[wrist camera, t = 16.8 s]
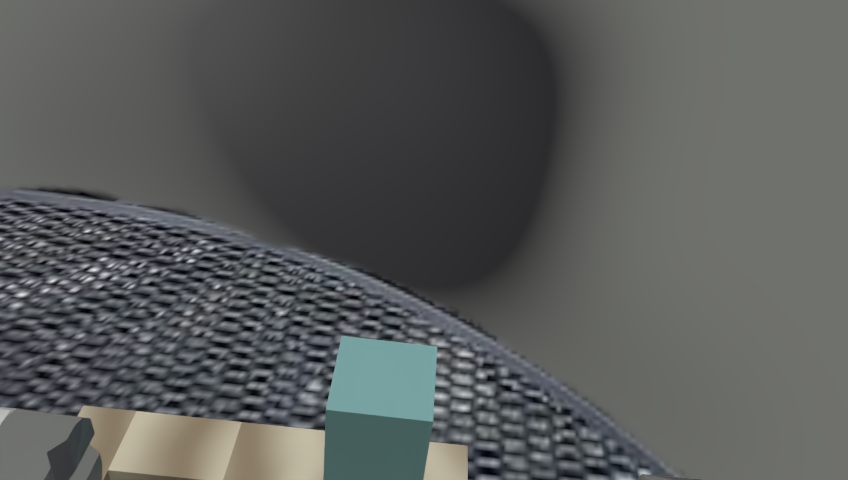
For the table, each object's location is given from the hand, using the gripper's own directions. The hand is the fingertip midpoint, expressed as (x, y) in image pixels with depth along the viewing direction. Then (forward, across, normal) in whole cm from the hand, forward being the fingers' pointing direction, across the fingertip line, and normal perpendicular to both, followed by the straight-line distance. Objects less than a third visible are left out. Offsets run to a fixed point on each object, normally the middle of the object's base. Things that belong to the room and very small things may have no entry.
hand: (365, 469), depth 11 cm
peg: (+13, 0, +24) cm, 27 cm away
